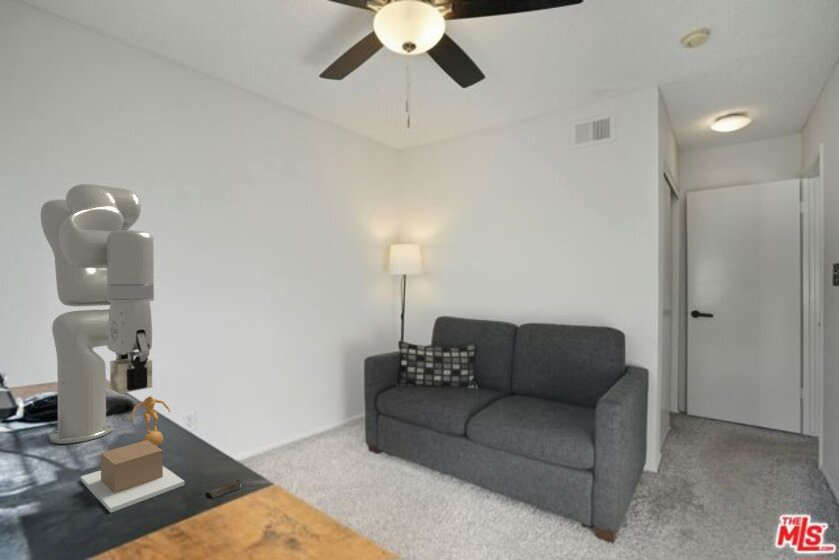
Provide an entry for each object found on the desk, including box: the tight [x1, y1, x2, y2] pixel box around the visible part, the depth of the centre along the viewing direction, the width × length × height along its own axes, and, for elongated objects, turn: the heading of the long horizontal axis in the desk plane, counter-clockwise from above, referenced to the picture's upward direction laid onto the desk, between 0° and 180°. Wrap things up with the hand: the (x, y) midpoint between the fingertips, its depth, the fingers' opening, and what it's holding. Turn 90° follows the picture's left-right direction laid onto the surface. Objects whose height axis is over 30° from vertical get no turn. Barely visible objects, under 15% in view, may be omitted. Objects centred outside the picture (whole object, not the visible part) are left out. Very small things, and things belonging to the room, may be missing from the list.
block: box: [205, 479, 242, 500], centre depth 79 cm, size 4×6×2 cm, turn 141°
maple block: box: [109, 357, 153, 394], centre depth 81 cm, size 5×5×5 cm
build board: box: [80, 440, 185, 514], centre depth 82 cm, size 18×12×6 cm, turn 52°
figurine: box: [129, 395, 171, 447], centre depth 99 cm, size 8×6×12 cm
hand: (131, 385), depth 81 cm, fingers closed on maple block, 5 cm apart
